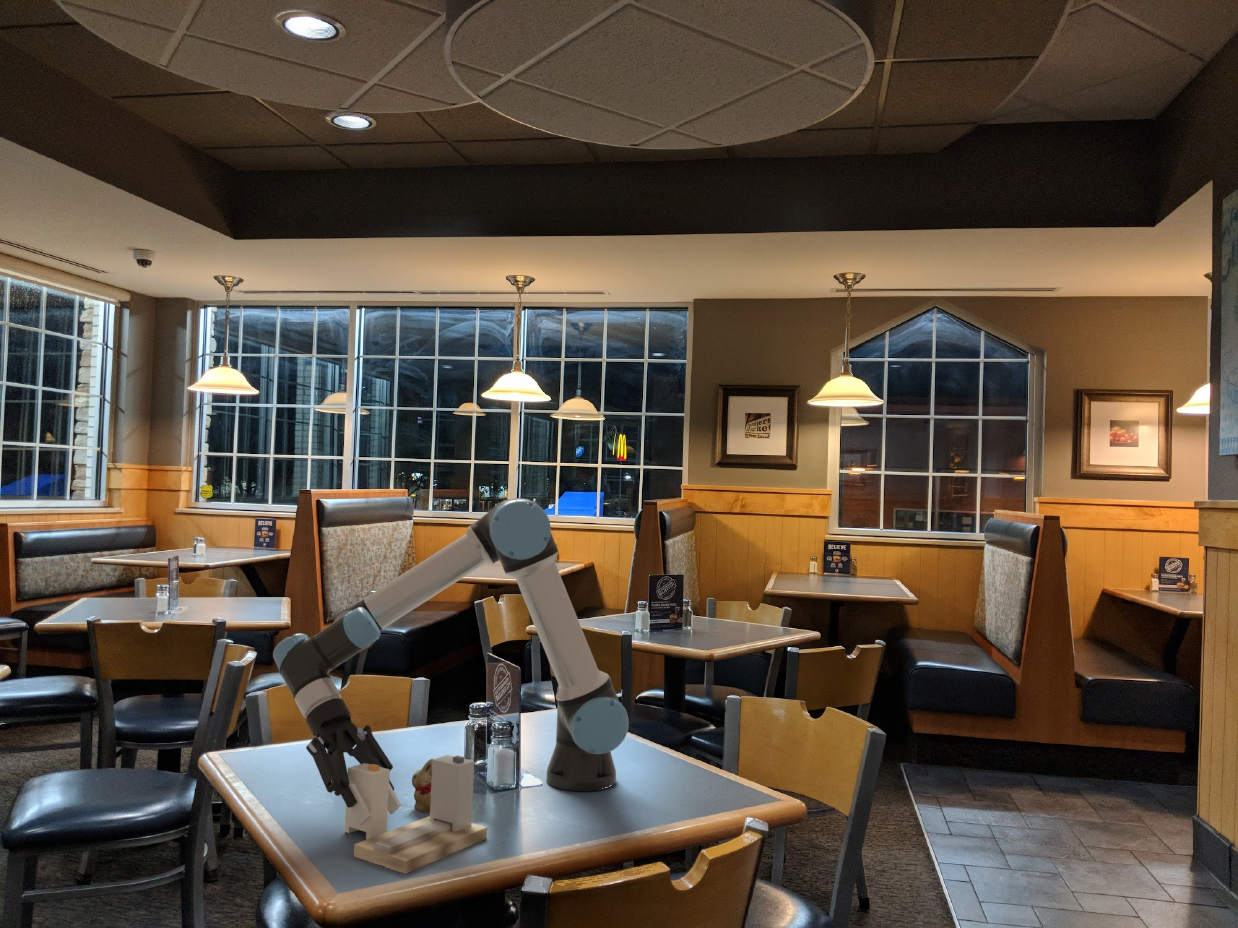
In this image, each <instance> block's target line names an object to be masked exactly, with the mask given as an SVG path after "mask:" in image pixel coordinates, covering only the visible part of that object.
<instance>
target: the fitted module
mask: <svg viewBox="0 0 1238 928" xmlns="http://www.w3.org/2000/svg"><path fill="white" fill-rule="evenodd" d="M474 774H475V760H471V759H466V758H465V756H461V755H456V756H454V755H449V754H447V755H443V756H439V757H436V758H433V760H432V781H431V803H430V813H429V816H430V822H431V821H434V820H437V819H439V820H442V821H446V822H449V823H453V825H452V830H453V831H459V830H461V829H464V828H466V827H469V826H471V824H472V823H473V822H472V818H473V796H474V778H475V777H474Z"/></svg>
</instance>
